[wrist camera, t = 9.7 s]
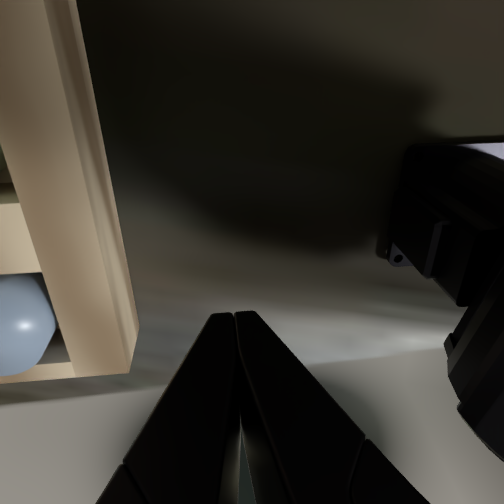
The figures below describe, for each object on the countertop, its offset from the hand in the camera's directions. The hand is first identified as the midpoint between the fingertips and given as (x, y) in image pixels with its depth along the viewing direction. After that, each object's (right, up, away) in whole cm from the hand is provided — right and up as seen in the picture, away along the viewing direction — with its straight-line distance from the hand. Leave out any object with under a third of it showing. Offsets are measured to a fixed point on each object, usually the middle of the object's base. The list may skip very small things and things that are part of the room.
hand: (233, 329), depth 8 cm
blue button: (-11, -1, +11) cm, 16 cm away
